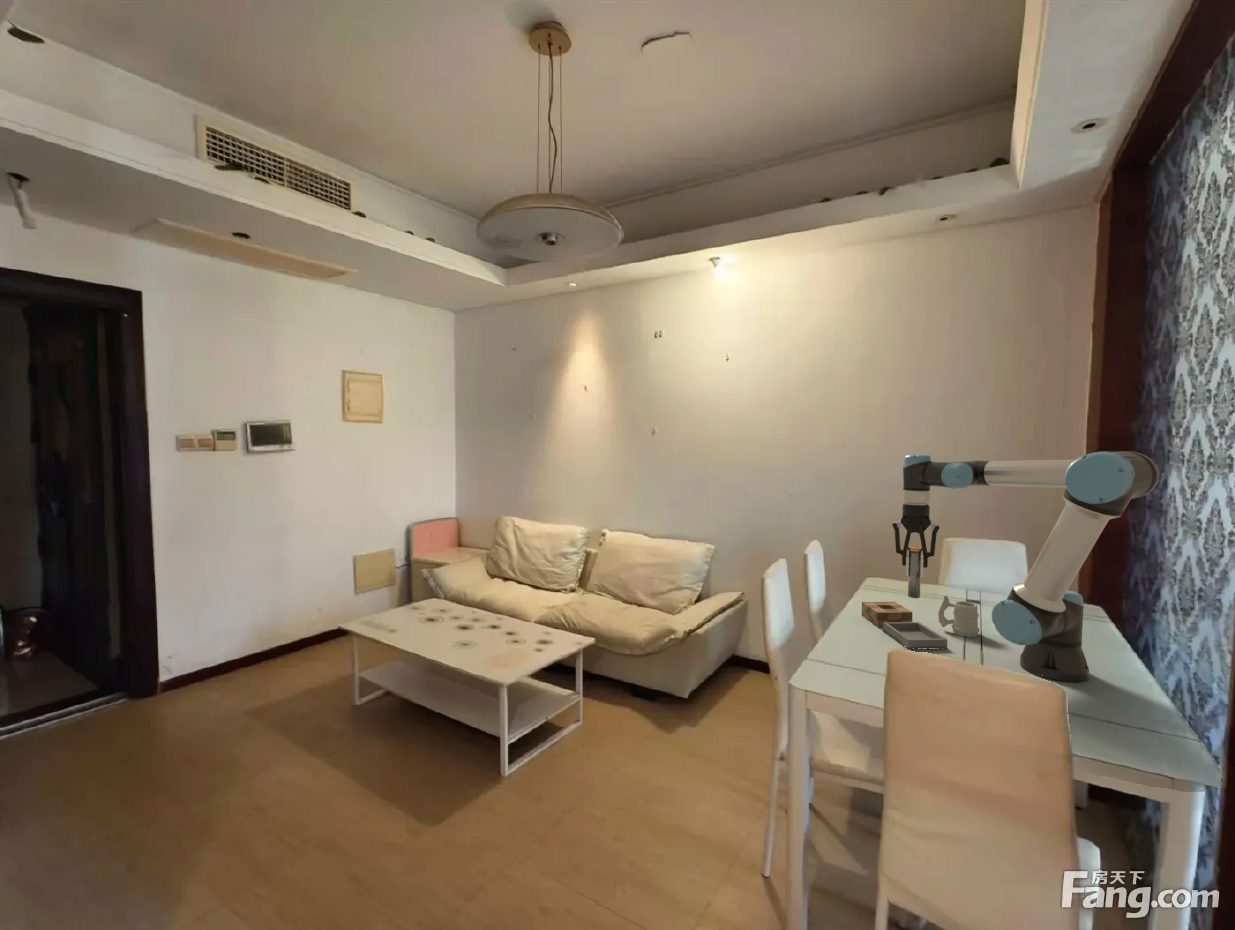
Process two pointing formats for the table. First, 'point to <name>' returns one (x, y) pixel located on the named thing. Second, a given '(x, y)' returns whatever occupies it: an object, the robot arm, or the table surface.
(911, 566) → the pin
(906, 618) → the block
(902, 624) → the tray
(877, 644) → the table surface
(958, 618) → the mug
